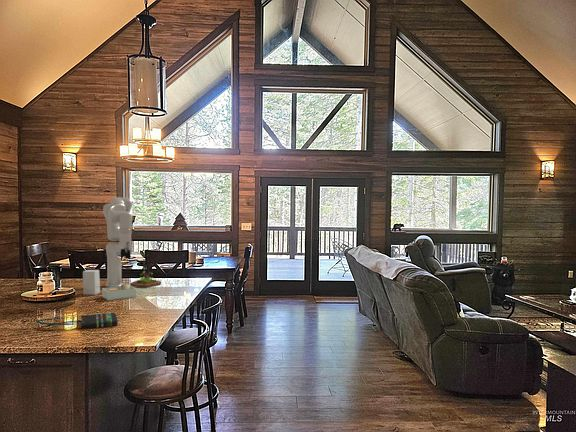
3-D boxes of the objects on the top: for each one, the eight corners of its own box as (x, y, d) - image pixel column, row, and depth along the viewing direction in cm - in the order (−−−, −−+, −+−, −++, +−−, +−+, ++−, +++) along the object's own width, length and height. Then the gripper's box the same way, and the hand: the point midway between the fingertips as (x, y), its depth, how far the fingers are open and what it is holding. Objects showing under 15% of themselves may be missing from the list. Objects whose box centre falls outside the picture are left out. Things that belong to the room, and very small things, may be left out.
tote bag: (117, 319, 200) (34, 326, 184) (117, 329, 200) (33, 337, 184) (115, 309, 218) (39, 315, 203) (115, 318, 218) (39, 324, 203)
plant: (125, 287, 296) (125, 271, 295) (143, 282, 314) (143, 267, 314) (148, 289, 289) (148, 273, 289) (165, 284, 308) (165, 269, 307)
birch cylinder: (120, 295, 265) (120, 284, 265) (128, 294, 268) (128, 283, 268) (122, 296, 261) (122, 285, 261) (130, 295, 265) (130, 284, 264)
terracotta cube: (107, 296, 260) (107, 289, 260) (115, 295, 263) (115, 288, 263) (109, 298, 256) (109, 290, 256) (117, 297, 259) (117, 289, 259)
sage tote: (102, 296, 262) (102, 288, 262) (129, 293, 273) (129, 285, 273) (107, 300, 252) (107, 291, 252) (136, 297, 262) (136, 288, 262)
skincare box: (100, 293, 273) (100, 269, 273) (94, 295, 267) (94, 271, 266) (88, 292, 274) (88, 269, 274) (82, 294, 268) (82, 271, 267)
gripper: (115, 230, 268) (115, 256, 269) (123, 232, 255) (123, 259, 255) (127, 230, 273) (127, 255, 274) (135, 232, 259) (135, 258, 260)
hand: (125, 257), depth 264 cm, fingers open, 9 cm apart
